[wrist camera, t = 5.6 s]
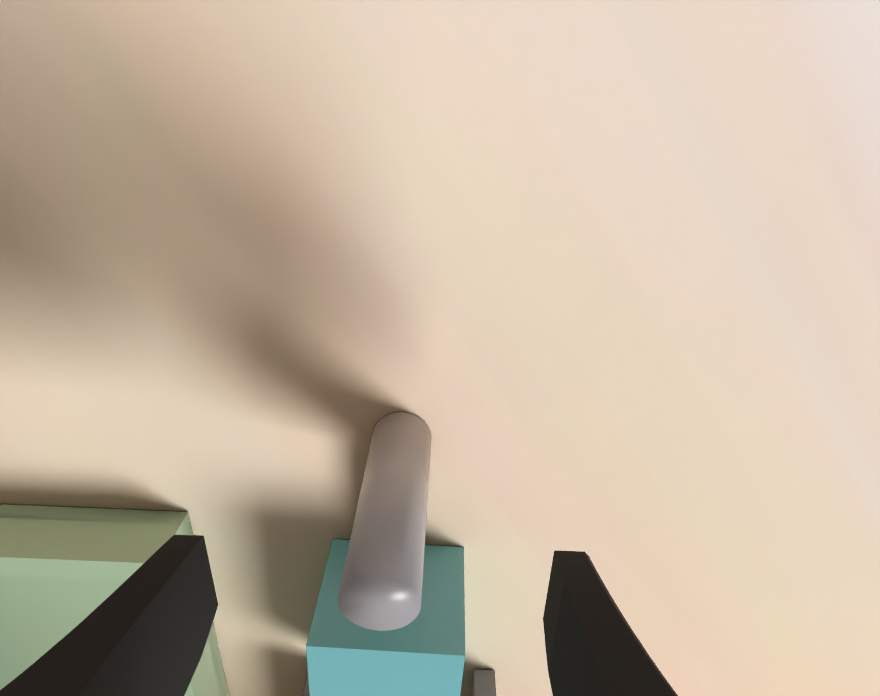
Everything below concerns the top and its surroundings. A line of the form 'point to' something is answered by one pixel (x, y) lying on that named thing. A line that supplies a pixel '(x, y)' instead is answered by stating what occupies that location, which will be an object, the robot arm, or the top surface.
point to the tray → (78, 577)
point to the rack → (481, 683)
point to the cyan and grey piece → (390, 584)
